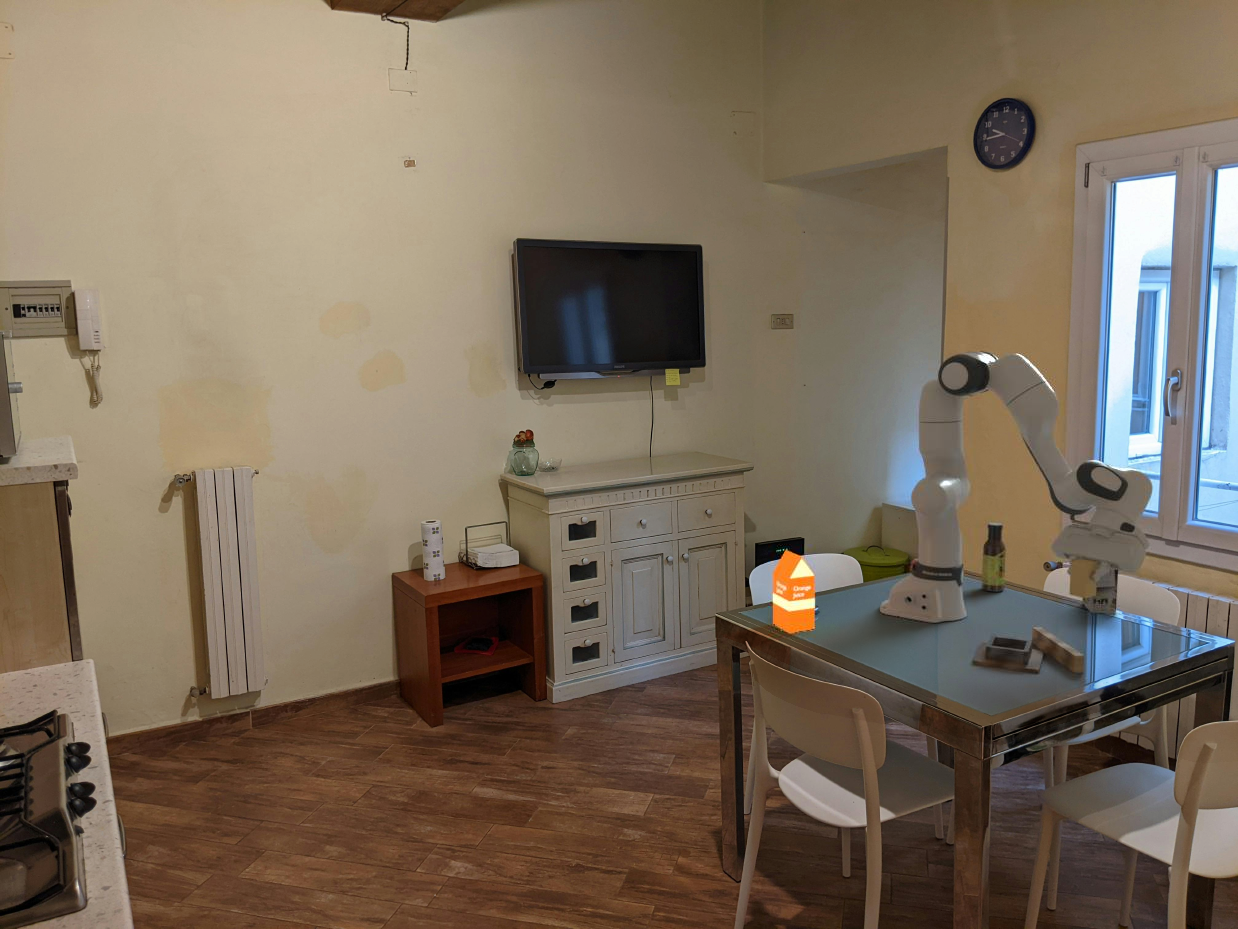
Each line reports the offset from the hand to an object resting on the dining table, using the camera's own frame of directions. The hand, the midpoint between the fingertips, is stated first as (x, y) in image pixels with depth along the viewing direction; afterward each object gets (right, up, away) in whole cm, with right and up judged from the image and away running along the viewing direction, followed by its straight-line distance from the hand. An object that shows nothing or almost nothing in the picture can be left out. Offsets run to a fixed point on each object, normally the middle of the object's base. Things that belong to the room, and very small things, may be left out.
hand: (1081, 577), depth 211 cm
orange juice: (-61, -17, +30) cm, 70 cm away
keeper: (-16, -20, +3) cm, 25 cm away
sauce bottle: (+4, -11, +59) cm, 60 cm away
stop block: (+1, -4, +1) cm, 4 cm away
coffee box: (+24, -14, +38) cm, 47 cm away
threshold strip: (-5, -19, +3) cm, 20 cm away
